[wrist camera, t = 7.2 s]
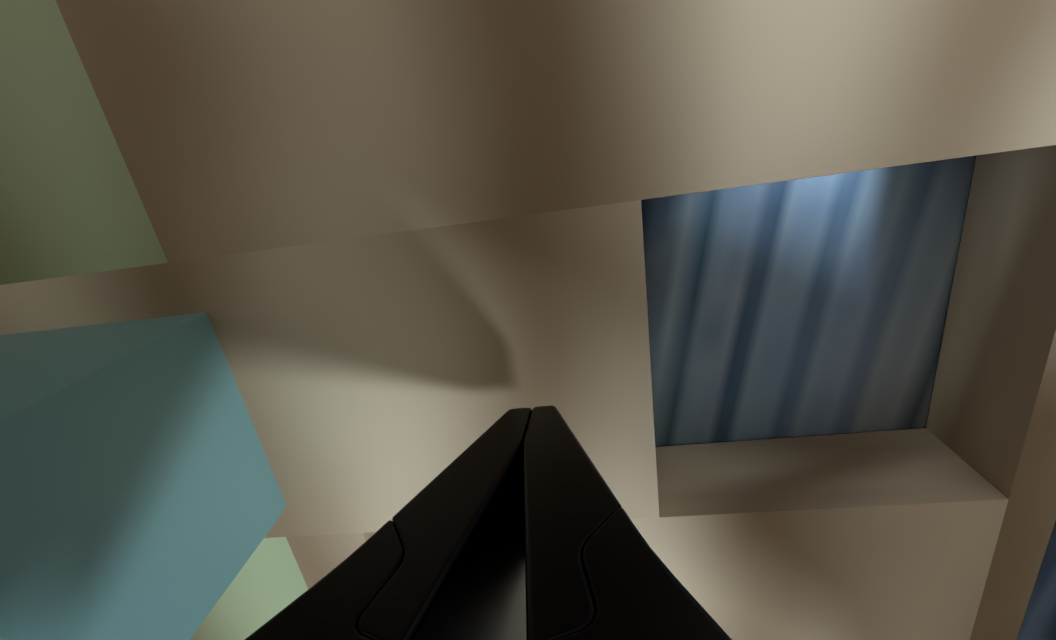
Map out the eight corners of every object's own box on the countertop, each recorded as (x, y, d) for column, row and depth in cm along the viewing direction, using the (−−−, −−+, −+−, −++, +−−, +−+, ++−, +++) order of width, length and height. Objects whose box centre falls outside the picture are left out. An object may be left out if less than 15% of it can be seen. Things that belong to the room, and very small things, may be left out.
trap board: (1121, -251, 8) (2625, -1265, 2) (933, 584, 14) (1168, 882, 9) (-211, 42, 11) (-1023, -39, 5) (140, 610, 17) (-60, 838, 12)
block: (207, 312, 10) (-118, 484, 5) (286, 506, 12) (100, 762, 7) (-6, 335, 10) (-468, 508, 6) (102, 517, 12) (-183, 758, 8)
